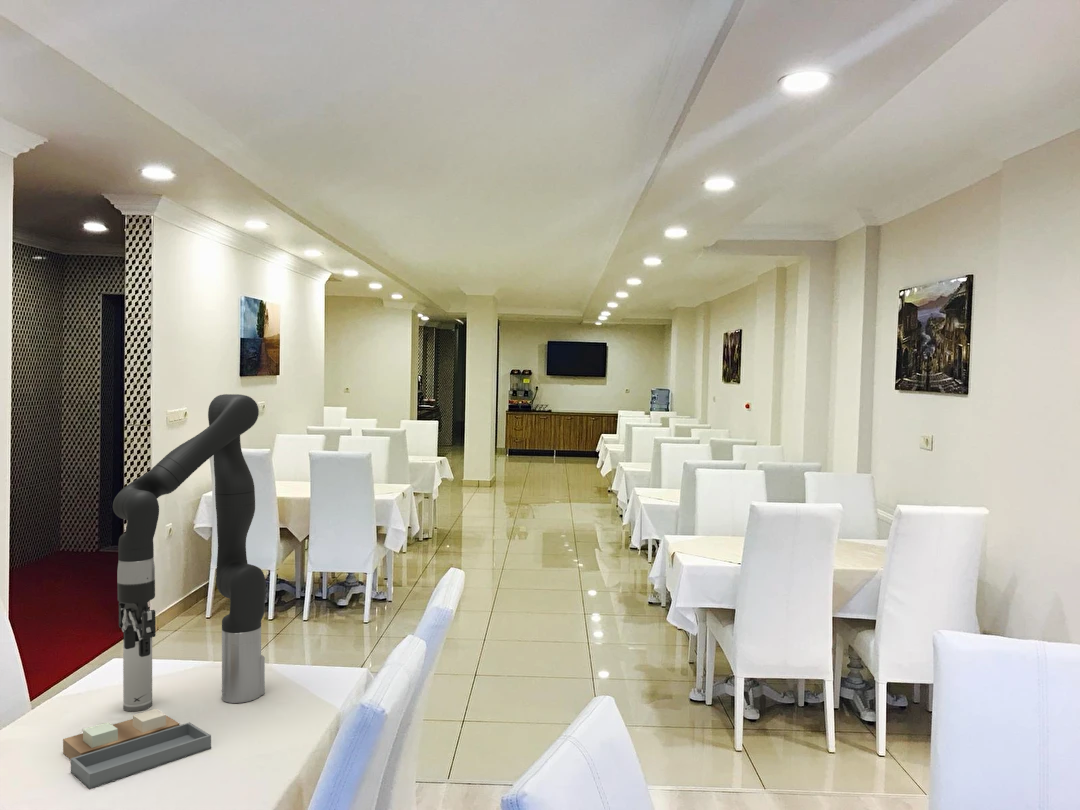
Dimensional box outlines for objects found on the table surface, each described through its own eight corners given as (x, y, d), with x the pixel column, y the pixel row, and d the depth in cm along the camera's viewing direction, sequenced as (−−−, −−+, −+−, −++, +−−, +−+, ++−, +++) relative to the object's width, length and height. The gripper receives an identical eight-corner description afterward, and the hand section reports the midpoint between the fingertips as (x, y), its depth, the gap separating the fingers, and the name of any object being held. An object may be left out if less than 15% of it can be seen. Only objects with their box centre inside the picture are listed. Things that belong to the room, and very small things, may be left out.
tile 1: (108, 733, 174) (108, 722, 174) (117, 740, 171) (117, 728, 171) (83, 740, 170) (83, 729, 170) (92, 747, 167) (92, 736, 167)
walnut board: (159, 724, 186) (159, 711, 186) (179, 737, 179) (179, 723, 179) (63, 753, 171) (63, 739, 171) (80, 768, 164) (80, 753, 164)
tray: (189, 734, 181) (189, 722, 180) (211, 748, 174) (211, 735, 174) (70, 772, 163) (70, 758, 163) (89, 789, 156) (89, 774, 156)
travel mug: (141, 713, 192) (141, 628, 192) (117, 710, 194) (117, 627, 193) (159, 703, 198) (159, 621, 198) (135, 700, 200) (135, 619, 199)
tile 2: (156, 719, 181) (156, 708, 181) (166, 725, 178) (165, 714, 178) (132, 726, 178) (132, 715, 178) (142, 732, 174) (142, 721, 174)
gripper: (167, 581, 180) (168, 655, 180) (140, 571, 189) (140, 641, 190) (132, 587, 174) (132, 663, 174) (105, 576, 184) (106, 649, 184)
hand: (137, 651), depth 182 cm, fingers open, 7 cm apart
